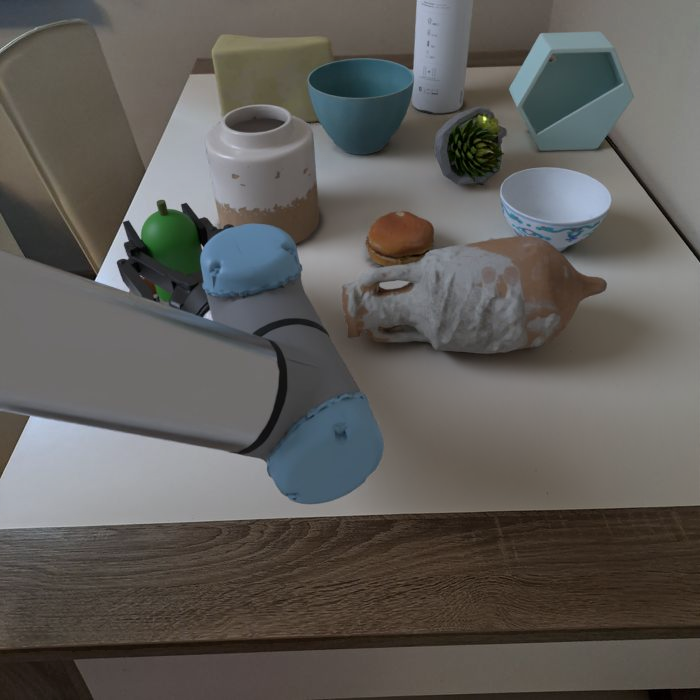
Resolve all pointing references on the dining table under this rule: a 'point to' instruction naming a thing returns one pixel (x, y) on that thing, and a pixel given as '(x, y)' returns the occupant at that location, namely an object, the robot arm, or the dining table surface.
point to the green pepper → (172, 242)
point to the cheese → (268, 71)
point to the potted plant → (470, 146)
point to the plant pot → (361, 101)
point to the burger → (399, 239)
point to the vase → (264, 170)
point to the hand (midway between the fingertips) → (157, 221)
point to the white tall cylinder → (441, 54)
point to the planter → (571, 90)
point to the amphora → (472, 297)
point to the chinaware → (554, 204)
